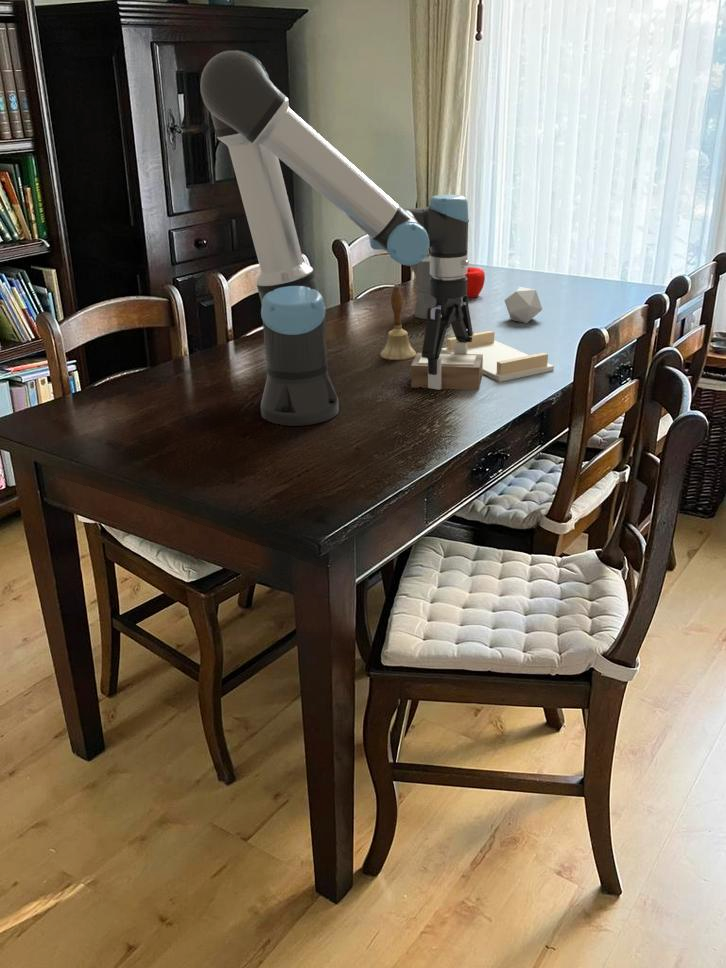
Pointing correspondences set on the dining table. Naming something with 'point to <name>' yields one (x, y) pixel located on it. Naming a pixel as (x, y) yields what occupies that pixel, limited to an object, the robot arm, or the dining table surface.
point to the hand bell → (397, 333)
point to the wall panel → (502, 358)
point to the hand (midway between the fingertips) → (447, 379)
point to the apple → (474, 281)
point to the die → (523, 304)
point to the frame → (450, 371)
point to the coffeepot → (423, 287)
